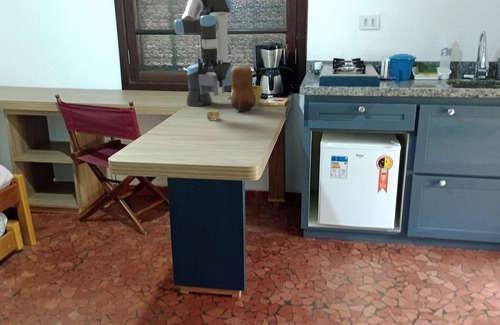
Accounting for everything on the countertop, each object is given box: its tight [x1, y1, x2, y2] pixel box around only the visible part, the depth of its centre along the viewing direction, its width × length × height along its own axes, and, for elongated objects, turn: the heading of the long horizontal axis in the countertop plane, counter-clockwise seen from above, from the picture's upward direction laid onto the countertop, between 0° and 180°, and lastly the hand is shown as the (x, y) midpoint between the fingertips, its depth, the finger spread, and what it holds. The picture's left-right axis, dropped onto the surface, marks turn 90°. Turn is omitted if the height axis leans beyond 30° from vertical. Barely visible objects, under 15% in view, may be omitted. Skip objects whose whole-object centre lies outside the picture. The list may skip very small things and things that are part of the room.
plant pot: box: [252, 85, 263, 106], centre depth 284 cm, size 10×10×10 cm
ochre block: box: [206, 109, 220, 121], centre depth 252 cm, size 4×4×4 cm
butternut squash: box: [230, 64, 256, 112], centre depth 265 cm, size 14×13×25 cm
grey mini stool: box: [199, 72, 225, 97], centre depth 247 cm, size 9×9×10 cm
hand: (212, 92), depth 248 cm, fingers closed on grey mini stool, 9 cm apart
